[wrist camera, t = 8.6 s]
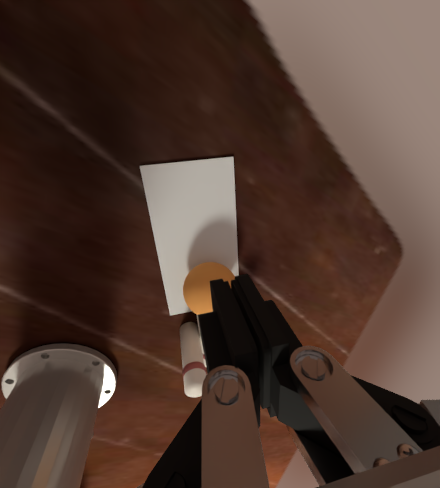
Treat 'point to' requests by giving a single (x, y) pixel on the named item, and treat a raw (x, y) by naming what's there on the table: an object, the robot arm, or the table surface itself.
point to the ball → (203, 285)
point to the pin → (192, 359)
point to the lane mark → (191, 219)
